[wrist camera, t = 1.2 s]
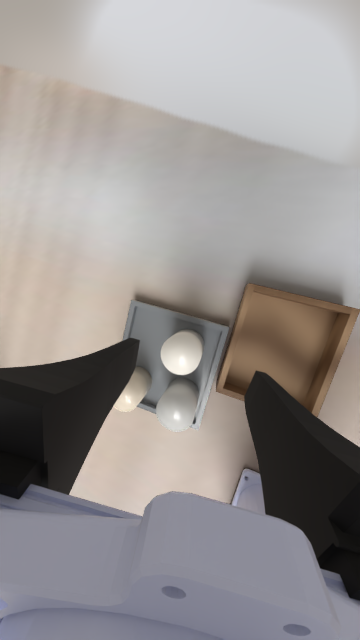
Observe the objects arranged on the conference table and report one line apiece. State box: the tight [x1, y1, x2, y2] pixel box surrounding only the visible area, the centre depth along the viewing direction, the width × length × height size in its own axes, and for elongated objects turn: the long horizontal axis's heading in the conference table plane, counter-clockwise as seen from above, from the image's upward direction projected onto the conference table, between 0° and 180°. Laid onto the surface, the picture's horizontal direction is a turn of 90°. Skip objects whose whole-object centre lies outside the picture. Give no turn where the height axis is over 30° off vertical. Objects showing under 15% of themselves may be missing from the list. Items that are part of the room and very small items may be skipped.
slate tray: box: [123, 300, 229, 430], centre depth 24 cm, size 13×12×1 cm
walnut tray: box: [216, 283, 360, 417], centre depth 20 cm, size 12×10×2 cm
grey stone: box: [156, 377, 199, 432], centre depth 22 cm, size 4×4×4 cm
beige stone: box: [113, 367, 152, 412], centre depth 23 cm, size 4×4×4 cm
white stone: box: [161, 329, 205, 375], centre depth 21 cm, size 4×4×4 cm
